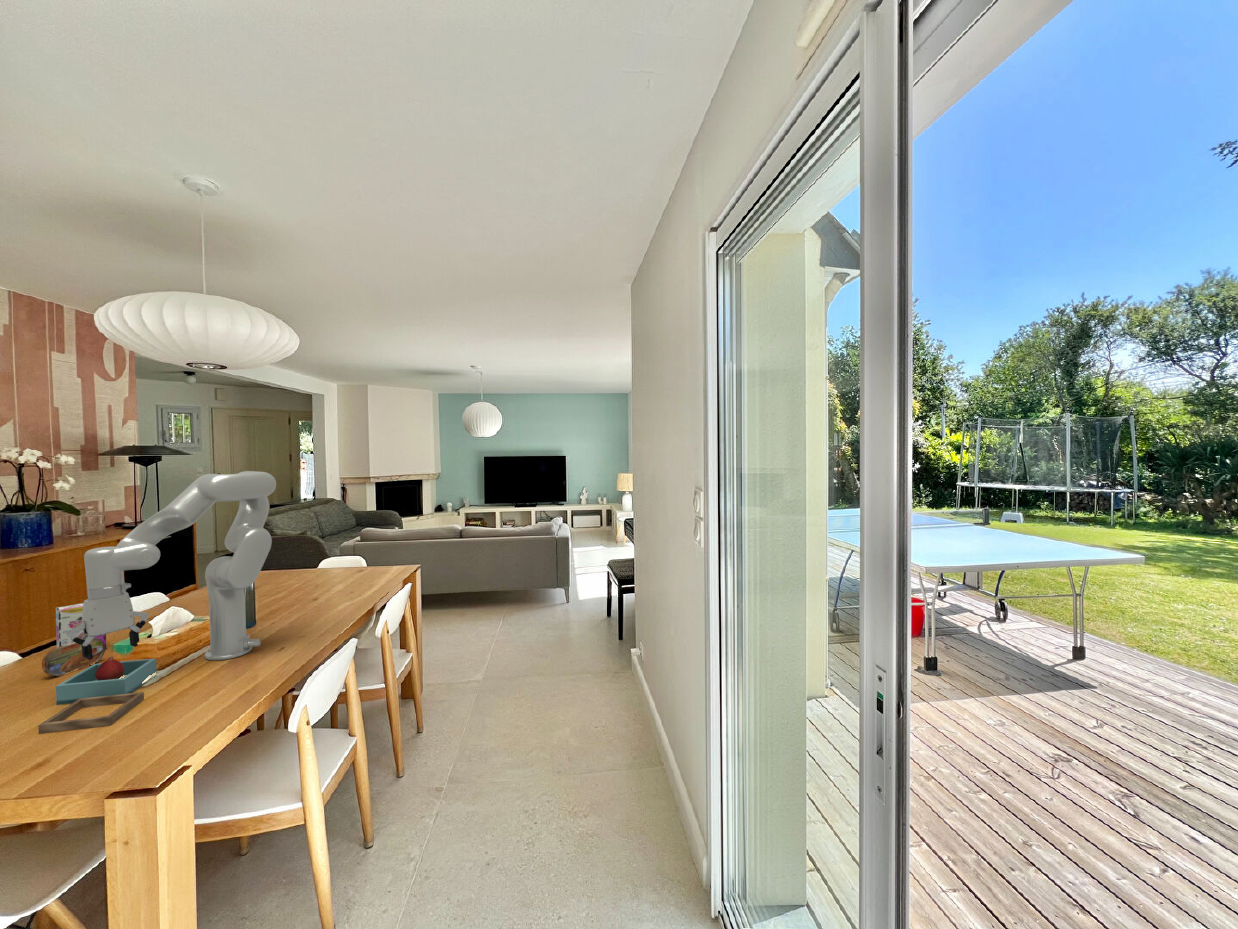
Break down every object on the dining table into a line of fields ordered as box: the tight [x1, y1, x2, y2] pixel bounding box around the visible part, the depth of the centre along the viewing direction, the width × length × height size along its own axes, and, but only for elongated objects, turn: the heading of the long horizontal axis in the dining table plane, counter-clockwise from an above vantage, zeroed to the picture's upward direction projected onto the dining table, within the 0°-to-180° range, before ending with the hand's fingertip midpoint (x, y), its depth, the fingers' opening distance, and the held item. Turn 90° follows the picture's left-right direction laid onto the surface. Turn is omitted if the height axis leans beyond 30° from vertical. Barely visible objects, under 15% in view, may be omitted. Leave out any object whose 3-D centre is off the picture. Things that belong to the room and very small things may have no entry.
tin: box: [41, 638, 106, 677], centre depth 165 cm, size 15×3×8 cm, turn 168°
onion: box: [95, 655, 124, 681], centre depth 152 cm, size 6×6×8 cm
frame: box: [37, 691, 145, 734], centre depth 137 cm, size 14×14×2 cm
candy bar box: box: [55, 602, 107, 651], centre depth 177 cm, size 11×5×16 cm, turn 145°
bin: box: [55, 657, 158, 706], centre depth 152 cm, size 15×15×5 cm
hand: (112, 652), depth 152 cm, fingers open, 9 cm apart
